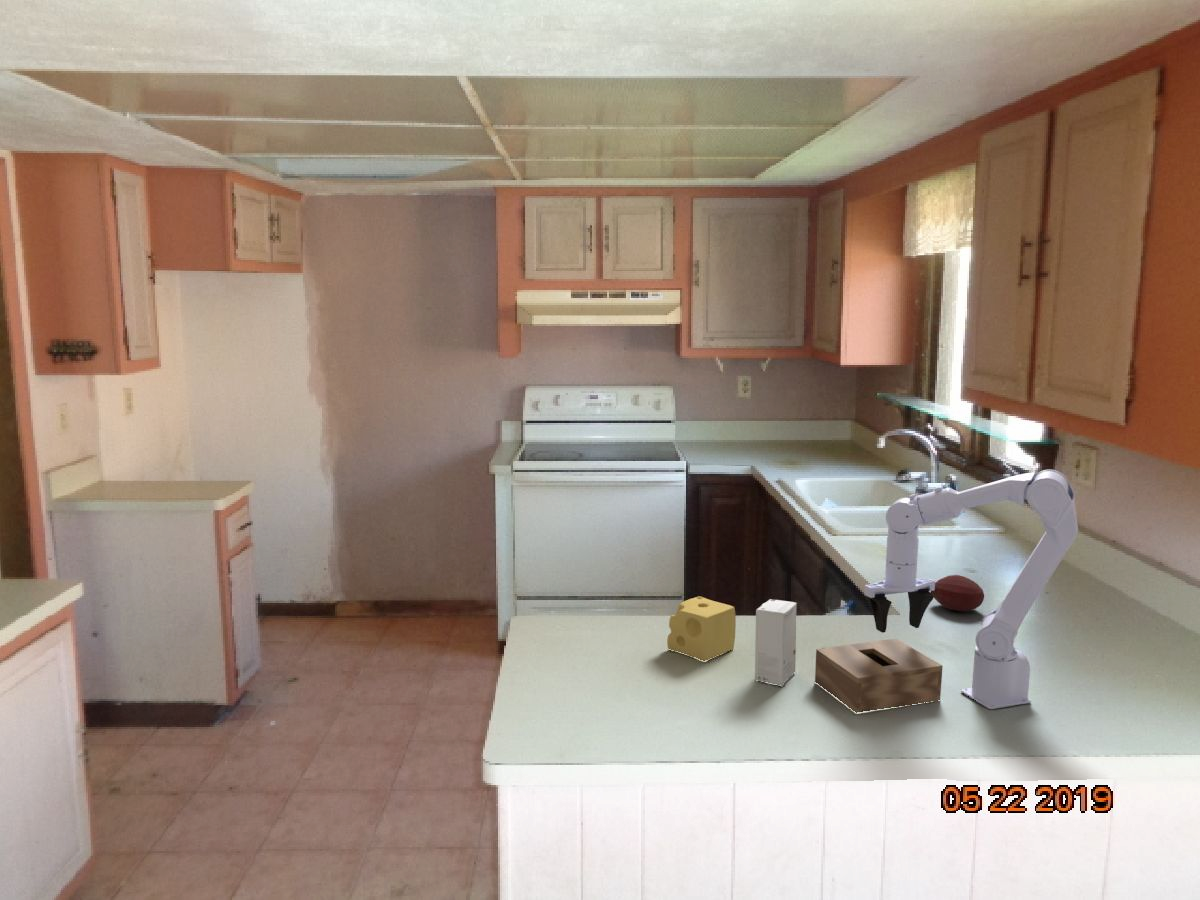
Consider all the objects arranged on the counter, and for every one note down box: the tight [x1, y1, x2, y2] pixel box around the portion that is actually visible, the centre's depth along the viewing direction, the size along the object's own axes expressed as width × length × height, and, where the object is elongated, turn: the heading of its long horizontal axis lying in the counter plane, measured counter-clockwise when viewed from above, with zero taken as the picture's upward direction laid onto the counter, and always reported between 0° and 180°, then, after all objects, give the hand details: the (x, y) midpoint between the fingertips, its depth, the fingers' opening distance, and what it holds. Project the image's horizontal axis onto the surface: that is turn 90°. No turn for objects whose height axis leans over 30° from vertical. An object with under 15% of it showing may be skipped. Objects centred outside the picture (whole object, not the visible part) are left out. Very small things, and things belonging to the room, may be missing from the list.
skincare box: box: [754, 598, 798, 687], centre depth 177 cm, size 8×6×15 cm
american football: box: [930, 574, 985, 612], centre depth 215 cm, size 12×11×8 cm
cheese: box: [667, 595, 737, 661], centre depth 191 cm, size 10×11×10 cm
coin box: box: [814, 638, 943, 713], centre depth 171 cm, size 18×14×7 cm
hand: (897, 628), depth 176 cm, fingers open, 7 cm apart
